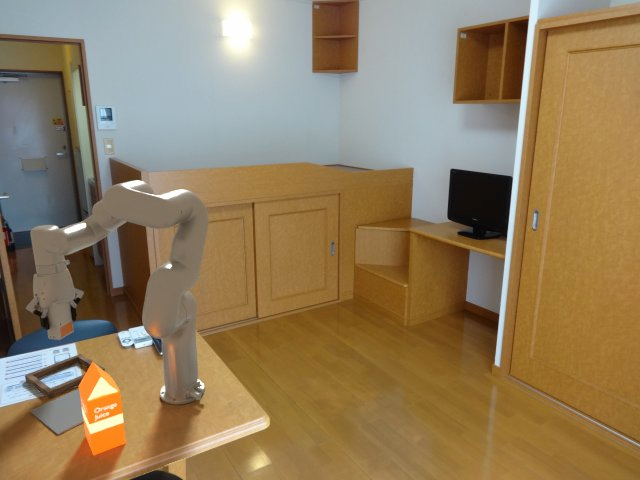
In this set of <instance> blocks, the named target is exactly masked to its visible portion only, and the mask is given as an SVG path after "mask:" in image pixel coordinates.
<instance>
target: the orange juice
mask: <svg viewBox="0 0 640 480" xmlns="http://www.w3.org/2000/svg"><path fill="white" fill-rule="evenodd" d="M94 362H95V361H93V362H92V364H91V365H90V367H89V368H87V371H86V373H84V374H85V376H84V377H83V379H82V381H81V383H80V384H79V386H77V387H78V389H79V390H80V397H81V405H82V414H83V420H84V423H83V425H84V427H83V428H84V433H85V435H84V436H85V439H86V441H87V443H88V446H89V447H90V451H91V452H92V453H91V454H92V455H93V456H96V455H98V454H101V453H104V452H107V451H109V450H112V449H114V448H118V447H119V446H122V445H125V444H127V443H126V434H125V433H126V432H125V423H124V413H123V405H122V396H121V390H120V389H119V387H118V385H117V384H116V382H115V381H114V379H113V377H112V376H111V375H110V374H108V373H107V372H106V370H105V371H103V370H102V369H101V368H100V367H98V366H97V365H96V364H95V363H96V362H95V363H94Z"/></svg>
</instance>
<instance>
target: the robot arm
mask: <svg viewBox="0 0 640 480" xmlns="http://www.w3.org/2000/svg"><path fill="white" fill-rule="evenodd" d="M91 212H92V214H91V215H89V216H88V217H86V218H85V219H84V220H82V221H79V222H77V223H72V224H70V225H67V226H65V227H59V226H58V225H55V224H43V225H37V226H35V227H33V228H32V229H31V230H30V234H29V235H30V240H31V248H32V251H33V257H34V265H35V270H36V273H34V274H33V279H32V280H33V281H32V292H33V298H32V299H31V300H30V302H28V304H27V306H26V307H25V310H27V311H29V312H30V313H32V314H34V315H36V316H37V317H39V322H40V326H41V328H43V329H44V330H46V331H47V330H49V329H50V326H49V320H48V317H47V316H46V314H47V311H48V309H49V308H51V307H52V302H55V301H58V300H61V302H62V303H67V302H69V303H70V307H71V315H72V322H76V321H77V316H78V314H77V308H78V304H79V303H80V301H81V300H82V298H83V296H84V294H85V292H84V291H83V290H81V289H78V288H76V287H75V285H74V281H73V277H72V276H71V273H70V270H69V269H68V268H67V266H68V265H70V264H71V262H70V260H69V259H65V258H66V257H65V256H68V255H71V254H74V253H77V252H79V251H80V250H83V249H86V248H89V247H91V246H93V245H95V244H97V243H98V242H100V241H101V240H103V239H105V238H106V237H107V236H109V235H111V234H112V233H113V232H115V231H116V230H117V229H118V228H119V227H121V226H123V225H124V224H126V223H127V222H128V223H131V224H135V225H140V226H142V227H147V228H150V229H155V230H165V229H170V228H171V227H174V226H176V225H177V228H176V230H175V233H174V235H173V236H172V237H173V238H172V240H171V241H172V242H171V247H170V252H169V256H168V260H166V262H164V263H163V264H162V265H160V266H158V267H157V268H156V269H154V271H152V273H151V274H150V276H149V278H148V281H147V284H146V289H145V290H146V291H145V295H144V302H143V307H142V315H141V318H142V325H143V328H144V330H145V331H146V333H147V334H148V335H149V336H151V337H152V338H155V339H158V340H159V339H160V340H161V353H162V367H163V378H164V385H163V386H161V388H160V390H159V397H160V399H161V400H162V402H164V403H166V404H170V405H184V404H189V403H191V402H194V401H200V400H201V398H202V396H203V394H205V392H206V389H205V383H204V382H203V381H201V380H200V379H199V368H198V365H199V364H198V350H197V333H196V331H197V330H196V329H197V316H198V305H197V304H198V303H197V299H196V297H194V295H193V293H191V291H190V290H192V288H194V287H195V285H197V284H198V281H199V277H200V273H201V268H202V262H203V258H204V253H205V252H204V251H205V246H206V245H205V244H206V241H207V236H208V231H209V224H210V223H209V213H208V209H207V207H206V205H205V203H204V202H203V199H201V198H200V197H199V195H197V194H196V193H195V192H193V191H191V190H188V189H183V188H182V189H174V190H171V191H168V192H163V193H162V194H157V195H156V194H155V193H154V190H153V187H152V186H151V185H150V184H148V183H147V182H145V181H143V180H138V179H135V180H130V181H125V182H120V183H117V184H113V185H111V186H110V187H108V188H107V189H106V191H104V193H103V195H102V199H101V200H99V201H97V202H96V203H95V204H94V205H93V206H92V211H91ZM36 306H37V307H39V308H38V310H37V309H36V308H35V307H36Z"/></svg>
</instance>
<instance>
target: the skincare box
mask: <svg viewBox="0 0 640 480" xmlns="http://www.w3.org/2000/svg"><path fill="white" fill-rule="evenodd" d="M46 316H47V317H48V320H49V326H50V329H49V330H46V331H47V337H48V339H49V340H57V341H61V340H62V339H64V338H65V337H67V336H69V335H70V334H72V333H74V332H75V331H74V324H73V322H74V321H73V320H72V315H71V307H70V303H69V302H67V303H62V302H61V300H58V301H55V302H52V307H51V308H49V309H48V311H47V314H46Z"/></svg>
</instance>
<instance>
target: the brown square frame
mask: <svg viewBox="0 0 640 480" xmlns="http://www.w3.org/2000/svg"><path fill="white" fill-rule="evenodd" d="M92 362H94V363H95V364H96V365H97V366H98V367H100V368H101V369H102V370H103V371H105V372H106V368H105V367H103V366H102V365H100V364H98V363H96V362H95V361H93V360H92V359H90V358H88V357H86V356H85V355H83V354H82V353H80V354H79V353H78V354H76V355H74V356H70V357H68V358H66V359H63V360H61V361H59V362H55V363H53V364H50V365H48V366H45V367H43V368H40V369H37V370H35V371H33V372H30V373H27V374H25V375H24V377H25V382H27V383H28V384H29V385H30V386H32V387H33V388H34V389H36V390H37V391H38V392H39V391H40V393H41V394H42V395H44V396H45V397H46V398H47V399H52V398H53V397H56V396H58V395H60V394H62V393H65V392H68V391H70V390H72V389H74V388H76V387H78V386H79V384H80V383H81V381H82V379H83V377H84V376H85V374H86V373H83V374H82V375H79V376H76V377H75V378H72V379H70V380H67V381H64V382H62V383H60V384H57V385H55V386H53V387H50V386H49V385H47V384H46V383H44V382H43V381H42V380H40V379H41V378H44V377H46V376H49V375H51V374H53V373H55V372H58V371H61V370H64V369H66V368H68V367H69V368H70V367H71V366H73V365H76V364H81V365H82V366H84V367H85V368H87V369H89V367H90V365H91V364H92Z"/></svg>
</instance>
